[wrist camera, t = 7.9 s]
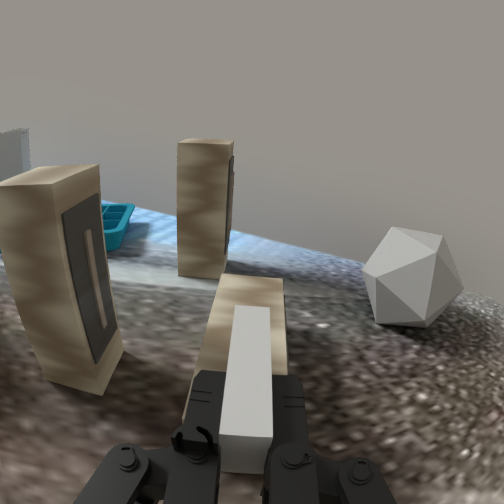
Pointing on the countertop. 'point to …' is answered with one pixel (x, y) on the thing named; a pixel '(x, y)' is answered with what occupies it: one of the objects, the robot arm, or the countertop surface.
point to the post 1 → (61, 273)
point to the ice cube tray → (115, 223)
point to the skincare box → (14, 153)
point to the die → (411, 278)
